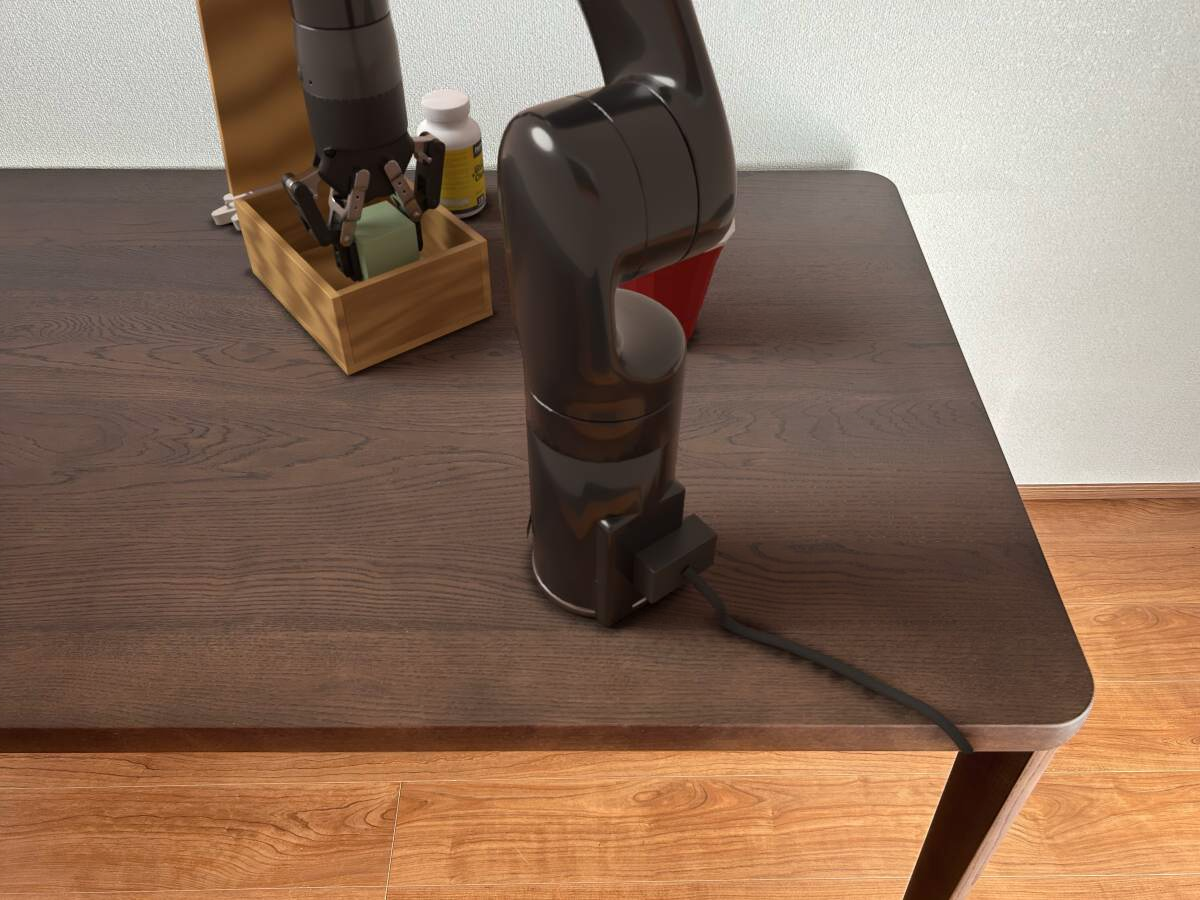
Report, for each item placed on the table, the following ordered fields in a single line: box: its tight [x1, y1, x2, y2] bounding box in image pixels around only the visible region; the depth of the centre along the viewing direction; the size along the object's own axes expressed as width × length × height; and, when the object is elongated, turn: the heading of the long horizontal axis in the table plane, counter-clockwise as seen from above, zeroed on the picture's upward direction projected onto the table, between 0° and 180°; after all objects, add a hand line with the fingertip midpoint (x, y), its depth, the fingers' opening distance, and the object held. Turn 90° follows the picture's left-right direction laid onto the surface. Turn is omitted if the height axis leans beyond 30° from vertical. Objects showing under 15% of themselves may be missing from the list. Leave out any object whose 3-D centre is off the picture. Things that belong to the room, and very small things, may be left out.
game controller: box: [211, 191, 254, 231], centre depth 101 cm, size 6×12×3 cm, turn 134°
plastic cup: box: [618, 217, 736, 343], centre depth 83 cm, size 11×11×12 cm
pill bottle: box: [416, 88, 487, 219], centre depth 99 cm, size 6×6×12 cm
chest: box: [233, 175, 494, 376], centre depth 88 cm, size 20×15×8 cm
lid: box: [194, 0, 315, 197], centre depth 82 cm, size 20×15×1 cm
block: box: [353, 201, 420, 282], centre depth 84 cm, size 5×5×5 cm
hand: (382, 265), depth 85 cm, fingers closed on block, 5 cm apart
